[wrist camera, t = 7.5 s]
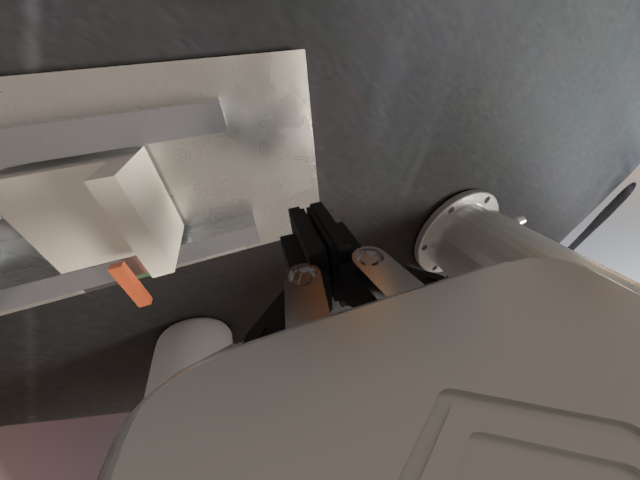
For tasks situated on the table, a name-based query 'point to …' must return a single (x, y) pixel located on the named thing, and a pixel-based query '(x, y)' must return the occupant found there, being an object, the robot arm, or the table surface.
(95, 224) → the white stepped block
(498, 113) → the table surface
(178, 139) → the bench
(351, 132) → the table surface
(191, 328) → the milk bottle
